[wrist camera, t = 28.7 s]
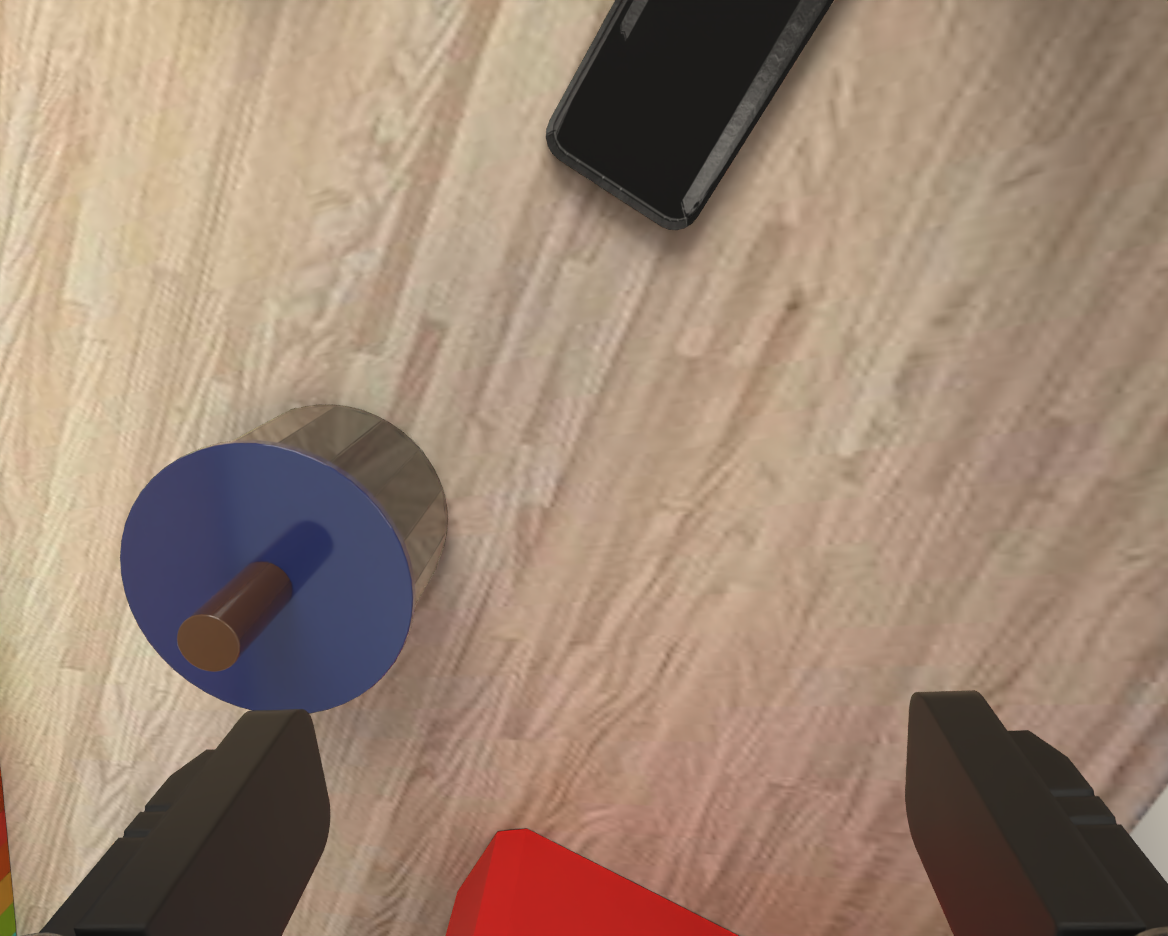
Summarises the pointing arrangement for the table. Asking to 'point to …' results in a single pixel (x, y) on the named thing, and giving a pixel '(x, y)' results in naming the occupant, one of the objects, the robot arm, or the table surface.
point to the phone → (676, 96)
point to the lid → (268, 576)
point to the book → (560, 896)
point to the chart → (5, 878)
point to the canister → (374, 471)
